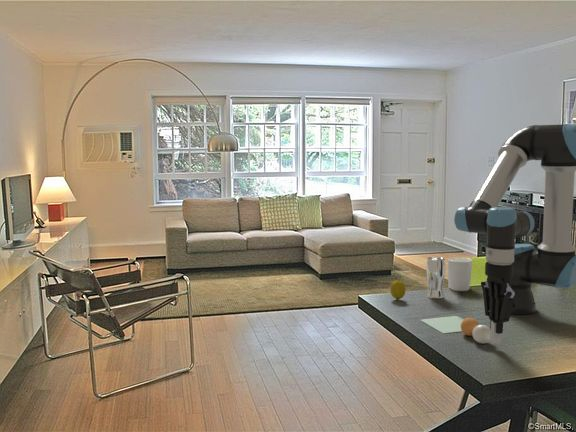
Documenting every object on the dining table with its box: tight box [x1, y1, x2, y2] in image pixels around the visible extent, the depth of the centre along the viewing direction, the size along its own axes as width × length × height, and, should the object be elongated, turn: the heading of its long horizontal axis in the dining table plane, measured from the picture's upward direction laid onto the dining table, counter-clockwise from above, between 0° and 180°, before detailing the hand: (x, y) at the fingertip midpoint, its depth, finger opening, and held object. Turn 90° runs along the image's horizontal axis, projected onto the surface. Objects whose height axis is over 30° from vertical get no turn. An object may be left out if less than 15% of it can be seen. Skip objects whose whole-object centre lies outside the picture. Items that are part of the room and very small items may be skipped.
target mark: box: [419, 315, 464, 335], centre depth 182 cm, size 14×14×1 cm
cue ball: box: [472, 324, 491, 344], centre depth 165 cm, size 6×6×6 cm
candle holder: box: [447, 256, 474, 292], centre depth 227 cm, size 10×10×12 cm
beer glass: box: [426, 256, 446, 300], centre depth 214 cm, size 7×7×15 cm
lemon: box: [390, 279, 406, 301], centre depth 210 cm, size 6×6×8 cm
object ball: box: [461, 317, 480, 337], centre depth 171 cm, size 6×6×6 cm
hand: (495, 342), depth 160 cm, fingers closed
